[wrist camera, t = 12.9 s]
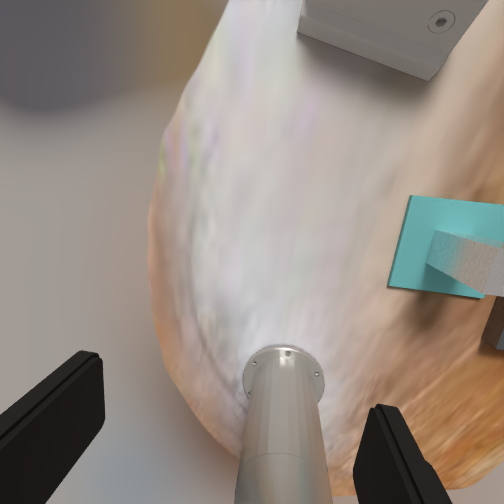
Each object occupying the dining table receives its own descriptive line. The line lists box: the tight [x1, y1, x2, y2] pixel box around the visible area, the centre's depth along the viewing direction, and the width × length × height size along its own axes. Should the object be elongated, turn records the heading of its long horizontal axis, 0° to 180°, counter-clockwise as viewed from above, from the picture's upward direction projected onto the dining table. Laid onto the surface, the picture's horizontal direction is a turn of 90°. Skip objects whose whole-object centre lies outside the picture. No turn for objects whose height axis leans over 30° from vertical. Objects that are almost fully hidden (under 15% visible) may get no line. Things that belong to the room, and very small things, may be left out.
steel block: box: [426, 230, 504, 297], centre depth 28 cm, size 4×4×10 cm
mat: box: [388, 195, 504, 298], centre depth 33 cm, size 12×12×1 cm
